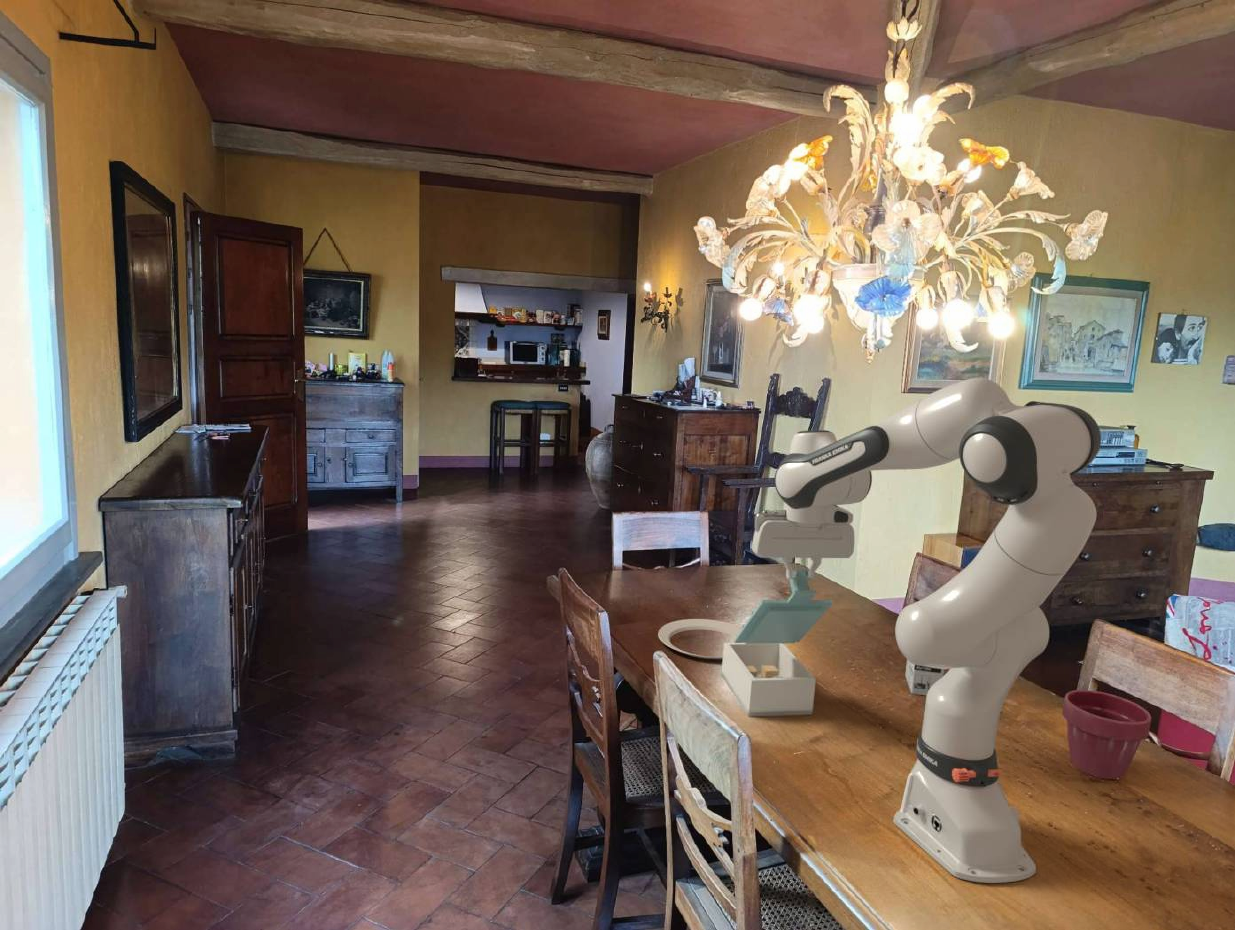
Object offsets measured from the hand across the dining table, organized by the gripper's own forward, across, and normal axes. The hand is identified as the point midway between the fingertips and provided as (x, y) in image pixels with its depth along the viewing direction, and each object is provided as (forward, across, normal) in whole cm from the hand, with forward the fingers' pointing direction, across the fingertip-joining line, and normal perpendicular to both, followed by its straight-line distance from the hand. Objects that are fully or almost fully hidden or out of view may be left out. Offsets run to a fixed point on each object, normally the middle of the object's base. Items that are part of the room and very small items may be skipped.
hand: (799, 578), depth 162 cm
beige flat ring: (+31, -5, +42) cm, 53 cm away
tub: (+31, 0, +13) cm, 34 cm away
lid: (+11, 0, +5) cm, 12 cm away
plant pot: (+31, +55, -21) cm, 67 cm away
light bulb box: (+31, +39, +15) cm, 52 cm away
